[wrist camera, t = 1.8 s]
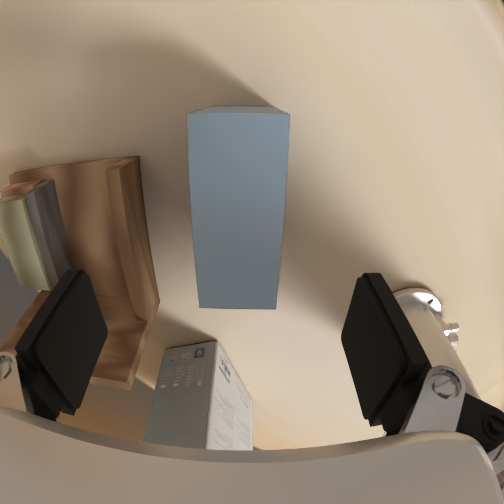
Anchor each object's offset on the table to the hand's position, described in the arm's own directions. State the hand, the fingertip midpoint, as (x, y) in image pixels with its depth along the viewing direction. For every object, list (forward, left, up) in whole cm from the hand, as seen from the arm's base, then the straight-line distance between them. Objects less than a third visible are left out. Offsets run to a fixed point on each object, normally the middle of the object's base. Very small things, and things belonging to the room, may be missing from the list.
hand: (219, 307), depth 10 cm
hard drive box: (+4, +28, -17) cm, 33 cm away
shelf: (+17, +6, -17) cm, 25 cm away
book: (0, 0, -17) cm, 17 cm away
